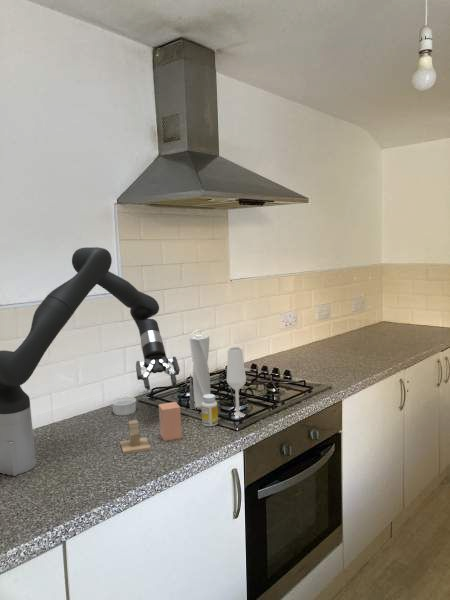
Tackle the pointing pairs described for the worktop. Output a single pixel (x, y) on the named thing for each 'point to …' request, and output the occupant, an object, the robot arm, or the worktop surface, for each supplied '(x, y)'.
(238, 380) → the champagne flute
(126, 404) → the ramekin
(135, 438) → the post
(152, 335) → the robot arm
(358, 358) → the worktop surface
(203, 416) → the supplement bottle
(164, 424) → the brown upright block
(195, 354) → the skyscraper
